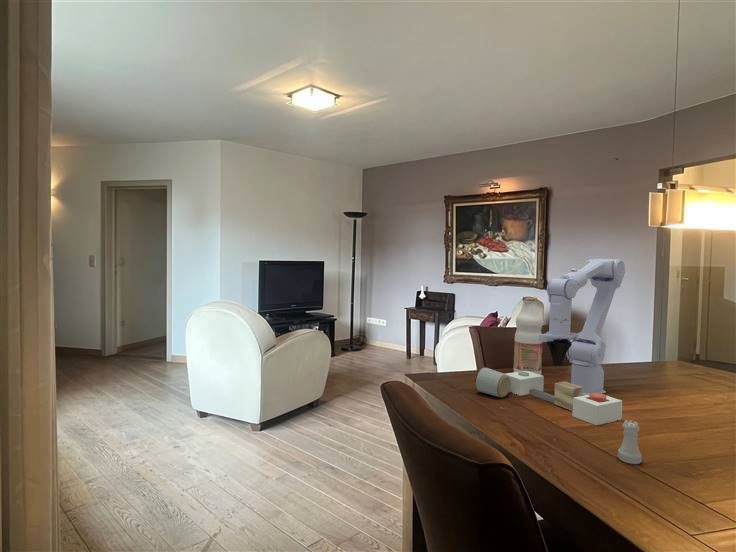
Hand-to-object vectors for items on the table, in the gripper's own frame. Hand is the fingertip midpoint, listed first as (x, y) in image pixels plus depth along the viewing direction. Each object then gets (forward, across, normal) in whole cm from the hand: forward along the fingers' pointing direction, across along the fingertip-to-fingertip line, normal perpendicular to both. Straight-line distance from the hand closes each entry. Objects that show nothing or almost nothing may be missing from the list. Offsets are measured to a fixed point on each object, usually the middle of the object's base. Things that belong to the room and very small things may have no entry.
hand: (557, 364), depth 129 cm
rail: (+10, +2, +2) cm, 11 cm away
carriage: (+10, +2, +6) cm, 12 cm away
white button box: (+10, +2, -11) cm, 15 cm away
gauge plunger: (+8, +2, +15) cm, 17 cm away
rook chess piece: (+11, +18, +34) cm, 40 cm away
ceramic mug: (+11, +13, -12) cm, 21 cm away
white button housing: (+10, +2, +15) cm, 18 cm away
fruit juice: (+10, -14, -24) cm, 30 cm away
